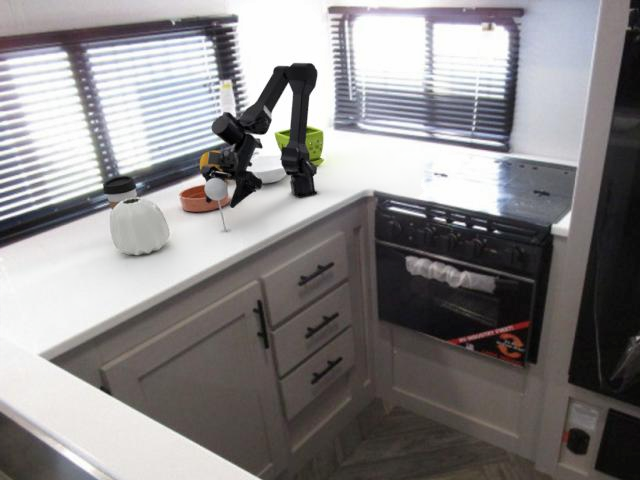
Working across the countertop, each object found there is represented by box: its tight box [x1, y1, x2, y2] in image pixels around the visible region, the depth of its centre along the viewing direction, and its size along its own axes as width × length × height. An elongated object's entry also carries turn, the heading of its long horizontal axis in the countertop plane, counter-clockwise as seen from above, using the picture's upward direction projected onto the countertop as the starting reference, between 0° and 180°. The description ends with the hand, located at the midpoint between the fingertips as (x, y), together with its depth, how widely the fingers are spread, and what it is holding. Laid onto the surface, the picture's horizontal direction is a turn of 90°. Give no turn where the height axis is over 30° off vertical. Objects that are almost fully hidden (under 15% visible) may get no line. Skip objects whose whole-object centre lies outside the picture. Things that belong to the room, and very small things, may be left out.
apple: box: [199, 149, 228, 183], centre depth 196 cm, size 10×10×12 cm
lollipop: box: [204, 178, 229, 232], centre depth 155 cm, size 6×6×15 cm
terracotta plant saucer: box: [178, 184, 231, 213], centre depth 178 cm, size 14×14×4 cm
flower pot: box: [274, 125, 324, 167], centre depth 209 cm, size 14×14×13 cm
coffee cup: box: [102, 175, 139, 211], centre depth 159 cm, size 8×8×15 cm
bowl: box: [246, 154, 288, 184], centre depth 196 cm, size 20×20×6 cm
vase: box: [109, 196, 171, 256], centre depth 148 cm, size 14×14×13 cm
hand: (219, 205), depth 155 cm, fingers open, 9 cm apart
